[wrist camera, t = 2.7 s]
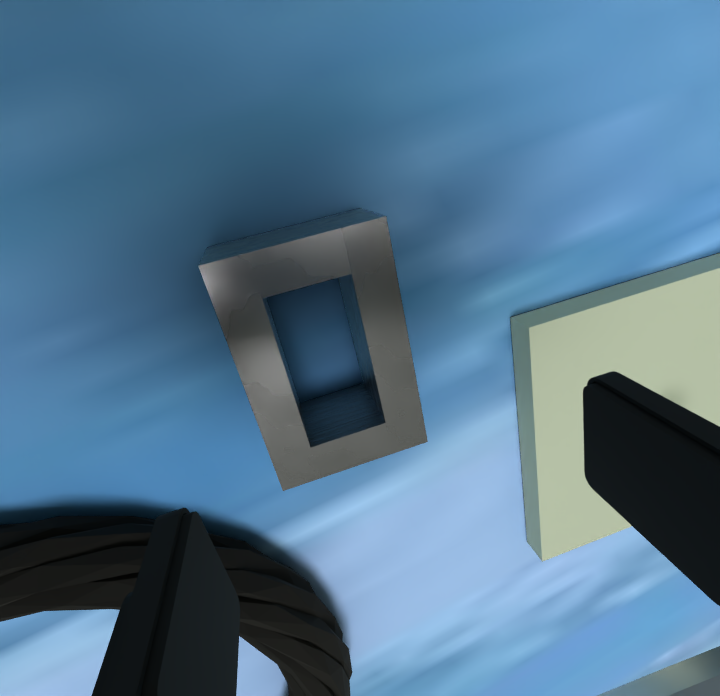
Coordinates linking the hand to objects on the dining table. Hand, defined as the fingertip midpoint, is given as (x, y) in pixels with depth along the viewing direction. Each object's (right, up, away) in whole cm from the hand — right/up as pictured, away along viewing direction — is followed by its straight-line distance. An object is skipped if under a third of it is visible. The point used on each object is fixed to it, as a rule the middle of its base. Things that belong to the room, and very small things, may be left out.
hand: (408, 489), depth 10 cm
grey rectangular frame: (-3, +4, +8) cm, 10 cm away
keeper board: (+14, 0, +14) cm, 20 cm away
